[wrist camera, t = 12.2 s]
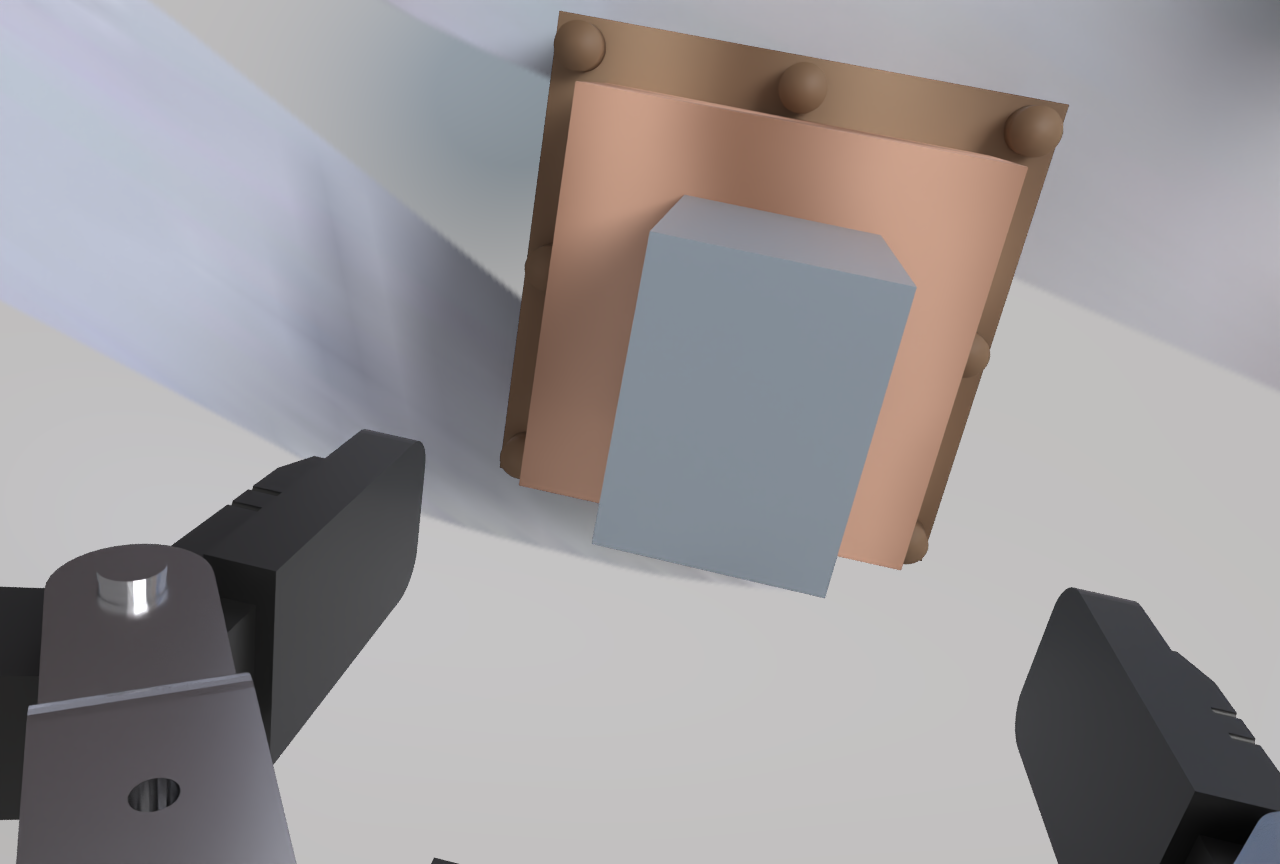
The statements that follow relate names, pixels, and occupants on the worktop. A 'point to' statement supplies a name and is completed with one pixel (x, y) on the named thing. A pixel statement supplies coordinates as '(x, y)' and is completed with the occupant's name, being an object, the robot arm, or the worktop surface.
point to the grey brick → (751, 392)
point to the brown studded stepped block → (778, 183)
